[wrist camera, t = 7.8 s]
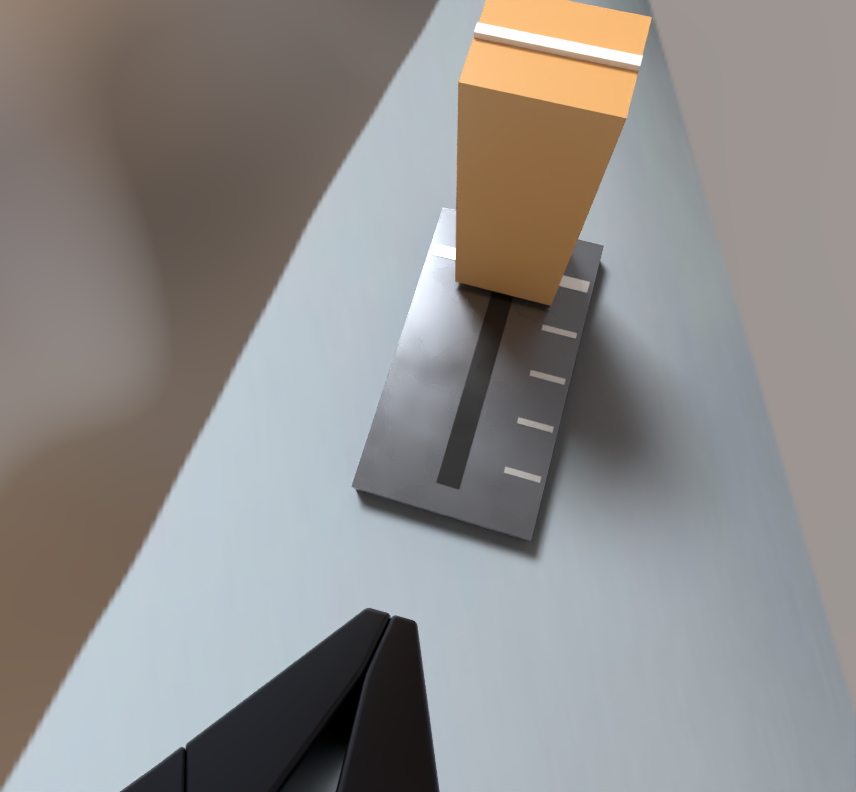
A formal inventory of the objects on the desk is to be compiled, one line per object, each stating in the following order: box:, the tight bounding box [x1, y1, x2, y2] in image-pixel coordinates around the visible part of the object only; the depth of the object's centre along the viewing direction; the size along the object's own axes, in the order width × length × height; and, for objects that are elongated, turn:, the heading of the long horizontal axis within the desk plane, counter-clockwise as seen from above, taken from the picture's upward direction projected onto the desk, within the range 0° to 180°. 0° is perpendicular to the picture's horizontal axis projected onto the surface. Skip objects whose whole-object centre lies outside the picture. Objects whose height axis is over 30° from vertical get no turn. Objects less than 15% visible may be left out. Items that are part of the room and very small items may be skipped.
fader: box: [455, 0, 652, 306], centre depth 19 cm, size 3×4×11 cm
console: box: [352, 207, 604, 541], centre depth 24 cm, size 12×7×1 cm, turn 164°
